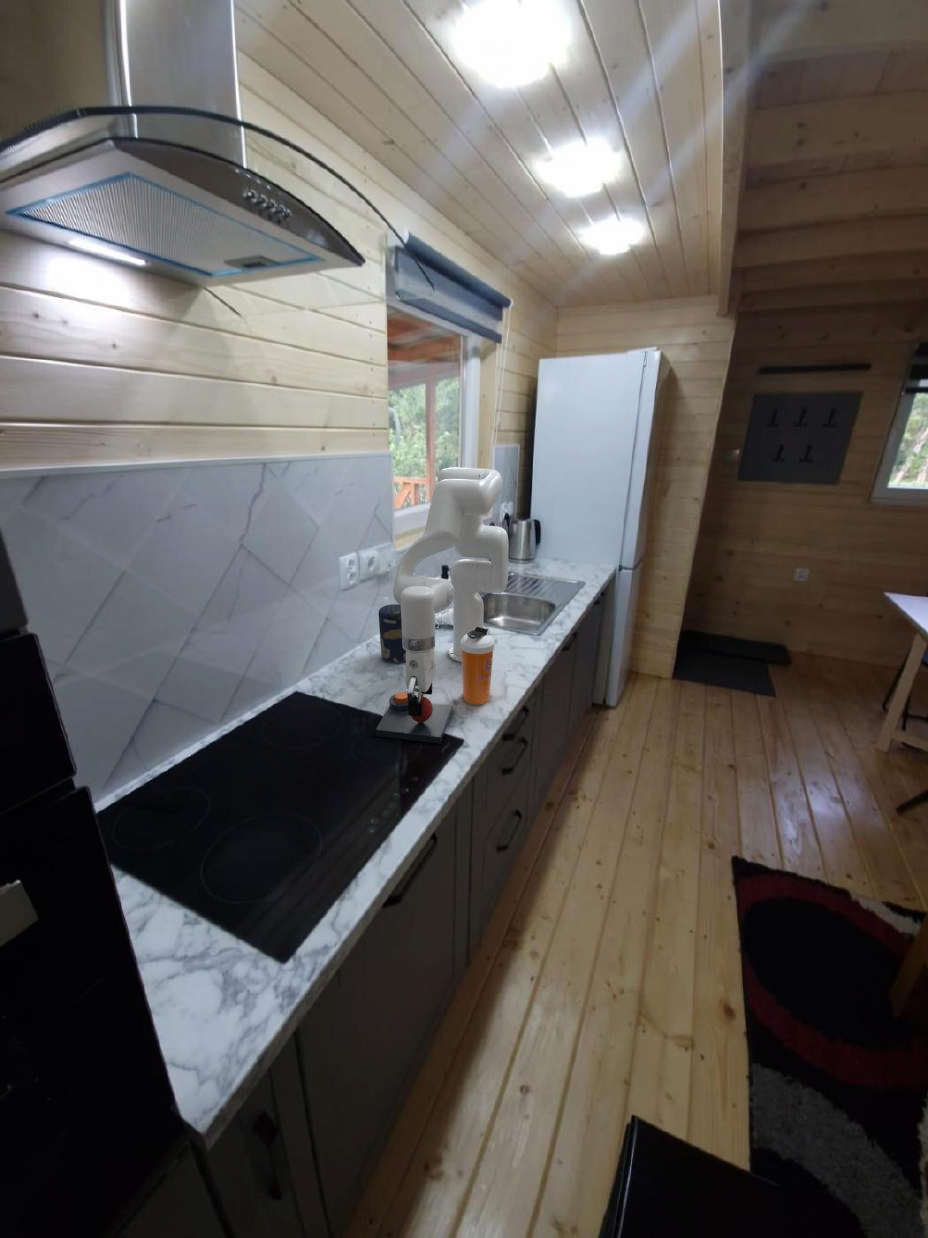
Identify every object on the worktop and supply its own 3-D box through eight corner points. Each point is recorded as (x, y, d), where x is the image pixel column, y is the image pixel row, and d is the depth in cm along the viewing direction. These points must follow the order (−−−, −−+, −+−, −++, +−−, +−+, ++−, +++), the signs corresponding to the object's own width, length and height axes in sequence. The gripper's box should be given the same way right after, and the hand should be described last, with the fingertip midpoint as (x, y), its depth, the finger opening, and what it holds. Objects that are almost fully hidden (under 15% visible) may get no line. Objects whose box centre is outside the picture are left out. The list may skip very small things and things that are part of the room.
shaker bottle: (455, 702, 133) (455, 635, 126) (467, 687, 141) (467, 622, 134) (486, 709, 130) (488, 640, 123) (496, 693, 138) (499, 627, 131)
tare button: (397, 696, 130) (397, 691, 130) (410, 697, 130) (410, 692, 129) (393, 703, 127) (393, 698, 127) (406, 704, 127) (406, 699, 126)
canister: (414, 652, 162) (413, 601, 155) (406, 666, 153) (404, 611, 146) (386, 650, 163) (383, 599, 156) (377, 663, 154) (373, 609, 148)
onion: (429, 730, 118) (428, 701, 115) (406, 727, 119) (405, 699, 116) (435, 717, 124) (435, 689, 121) (413, 714, 125) (412, 686, 122)
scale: (394, 702, 133) (393, 691, 132) (453, 709, 130) (453, 697, 129) (374, 736, 119) (374, 723, 118) (440, 744, 117) (440, 731, 115)
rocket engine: (423, 601, 178) (472, 592, 176) (430, 611, 189) (476, 603, 187) (427, 631, 174) (477, 622, 172) (434, 640, 185) (481, 631, 183)
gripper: (425, 658, 105) (426, 726, 111) (443, 626, 120) (443, 687, 127) (391, 655, 106) (395, 722, 112) (413, 624, 122) (415, 684, 128)
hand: (420, 704), depth 120 cm, fingers open, 9 cm apart
